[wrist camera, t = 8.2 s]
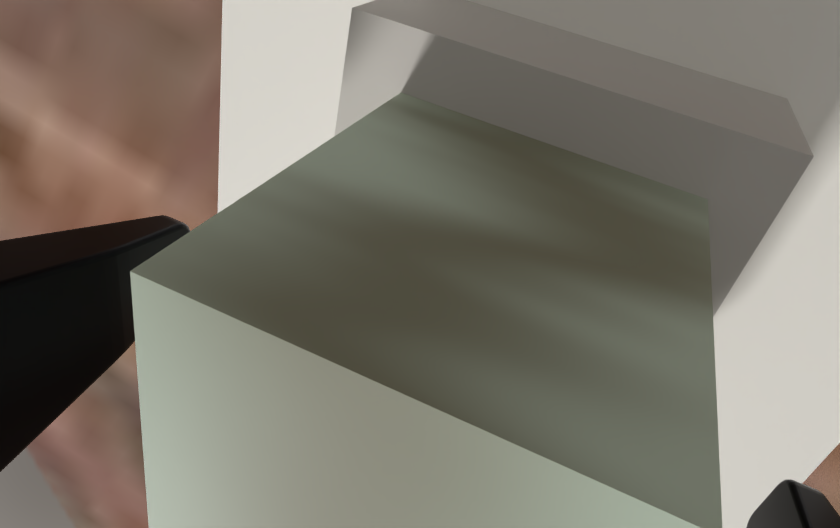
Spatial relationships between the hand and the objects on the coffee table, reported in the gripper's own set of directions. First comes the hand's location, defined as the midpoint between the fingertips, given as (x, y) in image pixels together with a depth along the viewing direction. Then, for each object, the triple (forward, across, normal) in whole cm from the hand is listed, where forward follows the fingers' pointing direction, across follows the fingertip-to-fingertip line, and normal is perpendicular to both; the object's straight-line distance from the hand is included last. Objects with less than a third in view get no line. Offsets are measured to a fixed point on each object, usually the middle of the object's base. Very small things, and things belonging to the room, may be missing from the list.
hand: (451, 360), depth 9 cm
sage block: (+3, 0, 0) cm, 3 cm away
